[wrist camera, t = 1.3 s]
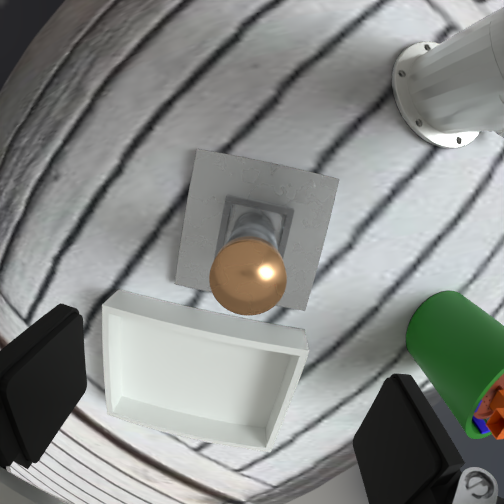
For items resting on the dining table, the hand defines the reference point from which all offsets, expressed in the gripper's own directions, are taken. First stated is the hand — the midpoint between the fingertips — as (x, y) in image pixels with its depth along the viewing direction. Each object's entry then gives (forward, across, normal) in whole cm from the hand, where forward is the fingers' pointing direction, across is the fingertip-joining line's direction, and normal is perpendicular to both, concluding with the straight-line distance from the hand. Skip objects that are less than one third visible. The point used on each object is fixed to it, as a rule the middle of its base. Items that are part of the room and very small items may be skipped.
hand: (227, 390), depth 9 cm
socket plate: (+24, 0, 0) cm, 24 cm away
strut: (+24, 0, 0) cm, 24 cm away
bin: (+25, +2, +18) cm, 31 cm away
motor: (+25, -25, +7) cm, 36 cm away
